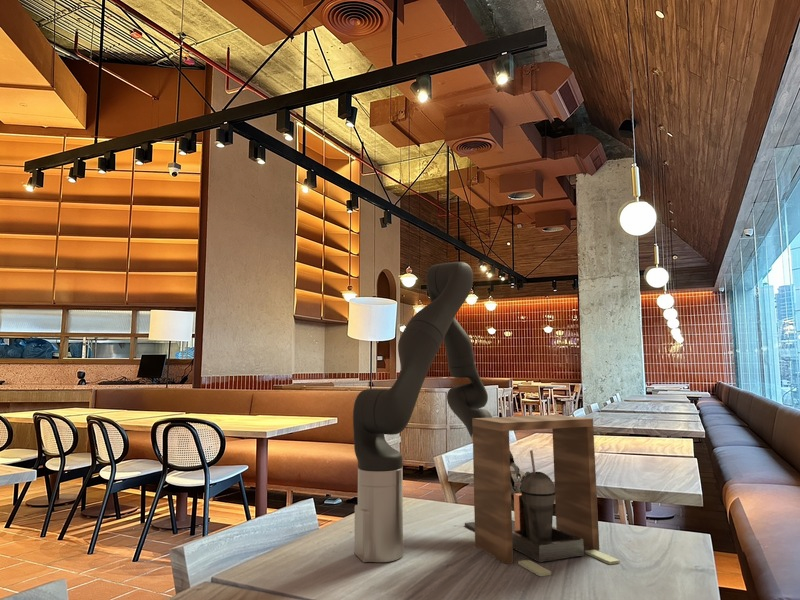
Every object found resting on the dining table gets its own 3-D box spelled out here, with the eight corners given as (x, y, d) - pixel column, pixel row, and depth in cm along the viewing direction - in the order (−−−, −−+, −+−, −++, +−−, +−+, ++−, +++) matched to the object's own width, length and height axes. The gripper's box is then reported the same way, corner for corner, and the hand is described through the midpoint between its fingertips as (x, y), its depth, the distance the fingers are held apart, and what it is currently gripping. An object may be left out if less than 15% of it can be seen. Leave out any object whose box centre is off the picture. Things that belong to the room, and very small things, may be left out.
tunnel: (506, 563, 106) (501, 423, 110) (475, 545, 117) (472, 418, 121) (599, 549, 115) (592, 418, 118) (562, 533, 126) (557, 414, 129)
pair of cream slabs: (540, 576, 100) (540, 573, 100) (518, 564, 106) (518, 561, 106) (619, 562, 106) (619, 560, 106) (594, 552, 113) (594, 549, 113)
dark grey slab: (486, 537, 123) (486, 534, 124) (464, 525, 133) (464, 523, 133) (531, 531, 128) (531, 528, 128) (507, 520, 137) (507, 517, 137)
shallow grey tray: (539, 562, 106) (537, 508, 108) (504, 543, 118) (502, 494, 119) (583, 555, 110) (581, 503, 111) (545, 537, 122) (543, 490, 123)
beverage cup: (561, 555, 111) (558, 453, 113) (524, 554, 112) (522, 453, 114) (552, 543, 118) (550, 447, 121) (518, 542, 119) (516, 447, 121)
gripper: (472, 439, 129) (502, 506, 116) (520, 436, 134) (554, 500, 121) (462, 459, 133) (490, 525, 121) (509, 456, 138) (540, 519, 126)
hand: (522, 512), depth 121 cm, fingers closed
